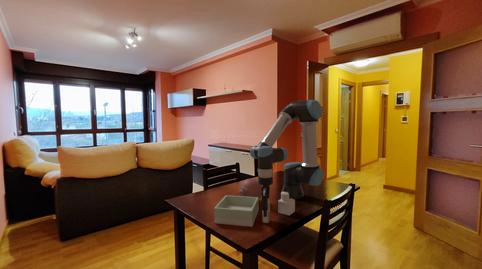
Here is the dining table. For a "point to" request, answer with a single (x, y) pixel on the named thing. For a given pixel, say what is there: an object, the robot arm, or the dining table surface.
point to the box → (236, 210)
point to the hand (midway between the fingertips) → (266, 220)
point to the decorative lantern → (250, 188)
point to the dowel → (268, 212)
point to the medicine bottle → (286, 203)
